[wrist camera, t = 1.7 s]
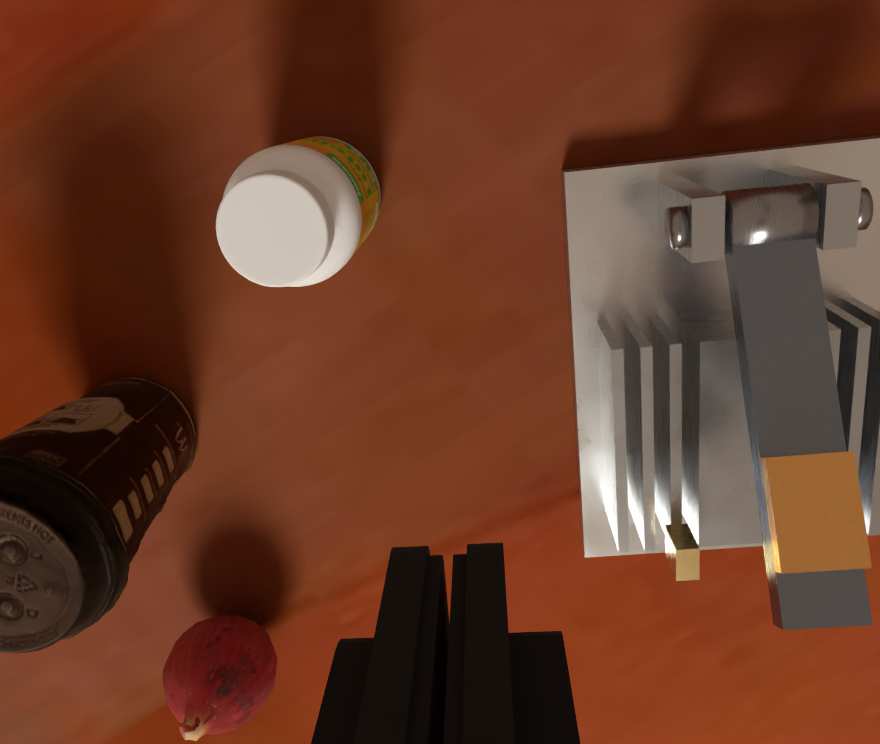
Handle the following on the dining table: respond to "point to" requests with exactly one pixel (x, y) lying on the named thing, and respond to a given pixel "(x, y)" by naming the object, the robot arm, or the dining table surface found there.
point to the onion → (219, 675)
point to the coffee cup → (83, 505)
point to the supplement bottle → (297, 211)
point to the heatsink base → (702, 341)
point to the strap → (794, 411)
